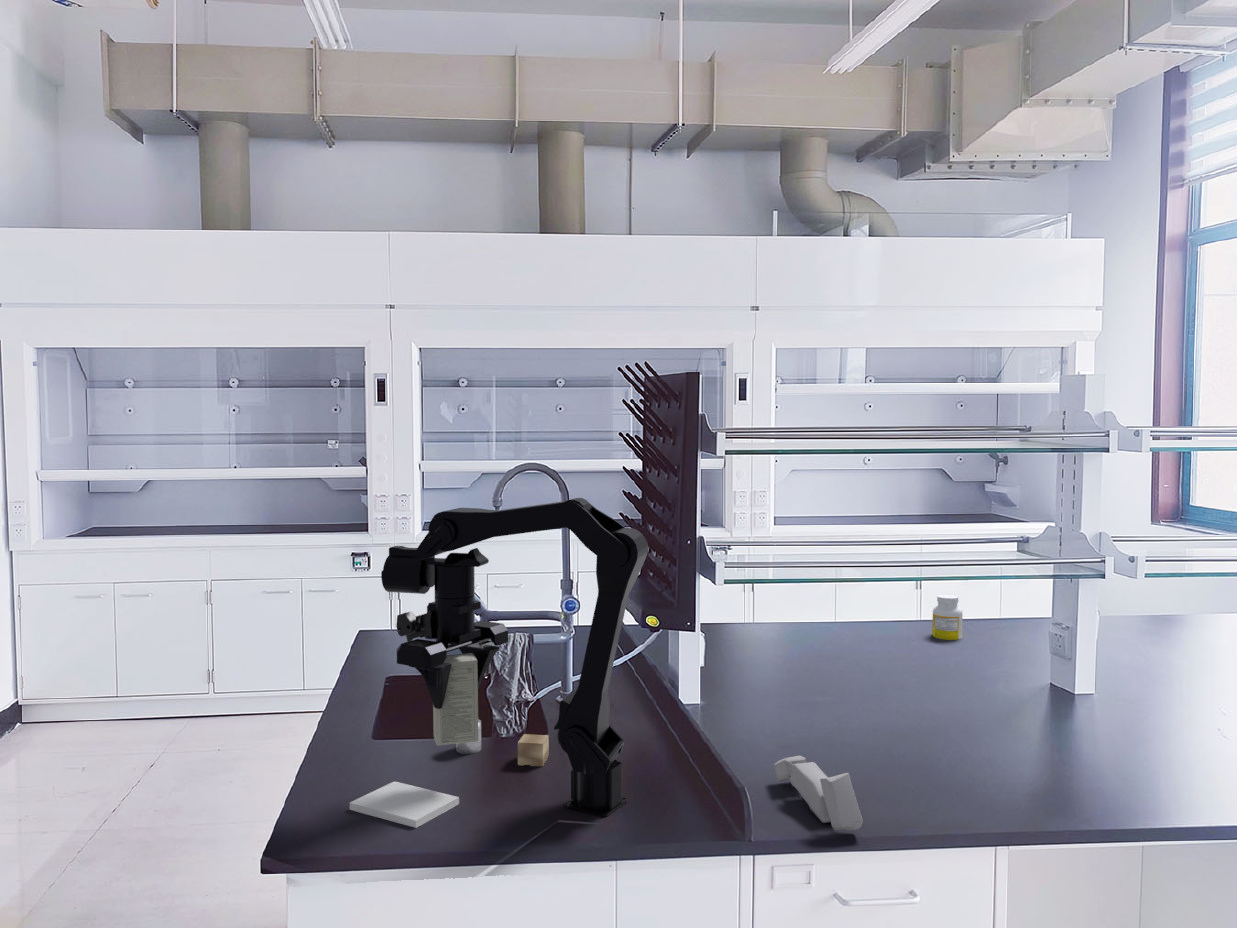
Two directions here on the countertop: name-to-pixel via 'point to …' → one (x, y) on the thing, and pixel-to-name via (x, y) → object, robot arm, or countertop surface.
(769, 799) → the countertop surface
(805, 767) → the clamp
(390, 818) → the grey mat
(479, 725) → the metal cylinder
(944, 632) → the supplement bottle
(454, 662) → the skincare box
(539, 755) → the oak block
